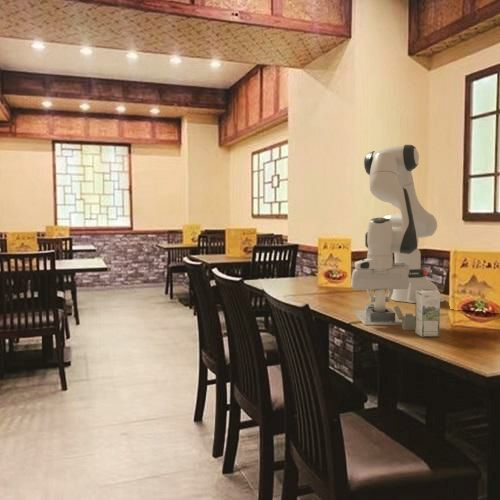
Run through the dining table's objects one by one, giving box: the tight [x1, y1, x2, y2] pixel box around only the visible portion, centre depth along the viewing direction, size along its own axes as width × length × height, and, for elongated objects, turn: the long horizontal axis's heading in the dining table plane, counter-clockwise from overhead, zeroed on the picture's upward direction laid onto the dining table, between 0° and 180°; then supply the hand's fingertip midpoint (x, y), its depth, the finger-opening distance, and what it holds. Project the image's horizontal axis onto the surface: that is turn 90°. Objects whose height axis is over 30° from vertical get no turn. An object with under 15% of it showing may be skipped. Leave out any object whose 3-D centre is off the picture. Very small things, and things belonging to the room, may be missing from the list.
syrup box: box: [414, 289, 441, 338], centre depth 156 cm, size 6×6×14 cm
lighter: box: [393, 305, 415, 331], centre depth 164 cm, size 7×2×8 cm, turn 94°
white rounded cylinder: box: [373, 289, 387, 312], centre depth 176 cm, size 4×4×8 cm
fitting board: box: [354, 303, 402, 326], centre depth 182 cm, size 13×22×4 cm, turn 177°
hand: (379, 301), depth 176 cm, fingers closed on white rounded cylinder, 4 cm apart
